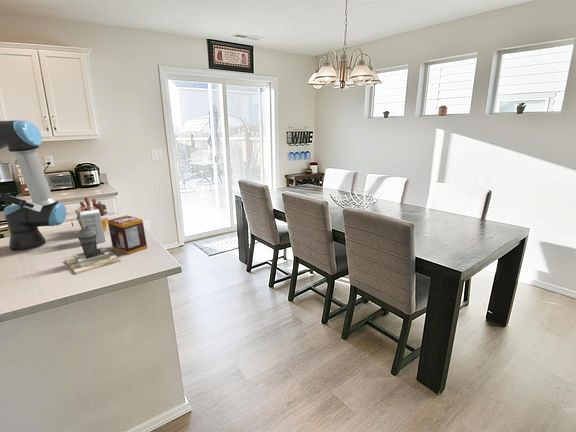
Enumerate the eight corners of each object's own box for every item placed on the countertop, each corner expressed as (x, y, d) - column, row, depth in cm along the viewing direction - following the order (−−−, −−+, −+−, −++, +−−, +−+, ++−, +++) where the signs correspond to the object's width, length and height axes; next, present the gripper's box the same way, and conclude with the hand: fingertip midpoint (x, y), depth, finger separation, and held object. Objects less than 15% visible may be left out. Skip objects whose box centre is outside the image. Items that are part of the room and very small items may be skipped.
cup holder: (65, 261, 146) (63, 254, 145) (107, 250, 159) (105, 243, 158) (75, 274, 133) (74, 266, 132) (120, 261, 145) (119, 254, 144)
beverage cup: (92, 262, 141) (83, 220, 136) (79, 262, 143) (69, 220, 137) (104, 256, 148) (96, 216, 143) (91, 255, 150) (83, 215, 144)
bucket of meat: (114, 232, 187) (108, 199, 181) (82, 238, 177) (74, 204, 171) (107, 224, 202) (101, 194, 196) (77, 230, 192) (70, 199, 186)
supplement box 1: (106, 241, 171) (100, 212, 166) (86, 245, 166) (79, 215, 161) (104, 237, 178) (98, 208, 174) (85, 240, 174) (79, 211, 169)
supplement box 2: (131, 242, 169) (126, 214, 165) (147, 248, 160) (142, 219, 156) (112, 248, 161) (106, 219, 157) (128, 254, 152) (122, 224, 148)
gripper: (-48, 191, 121) (15, 209, 140) (-21, 201, 110) (43, 219, 128) (-38, 174, 123) (23, 194, 141) (-11, 182, 111) (51, 202, 130)
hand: (33, 206), depth 135 cm, fingers open, 13 cm apart
